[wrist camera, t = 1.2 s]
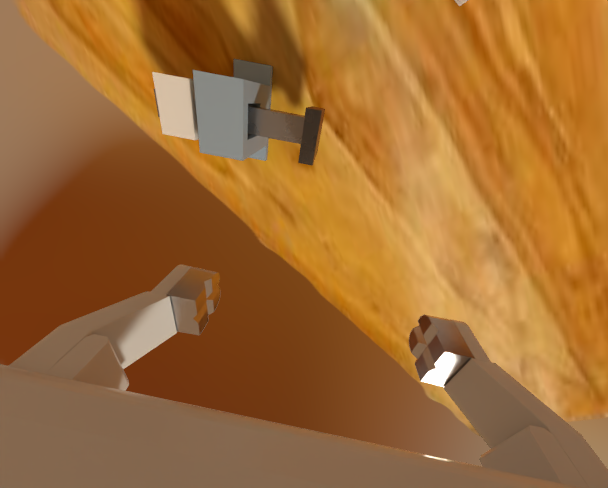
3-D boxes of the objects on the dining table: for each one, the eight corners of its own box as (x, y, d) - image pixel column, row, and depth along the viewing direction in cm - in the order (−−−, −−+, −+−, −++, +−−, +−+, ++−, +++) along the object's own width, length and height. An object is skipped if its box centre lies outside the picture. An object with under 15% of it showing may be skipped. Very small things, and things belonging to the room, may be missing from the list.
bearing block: (236, 59, 30) (189, 39, 20) (273, 66, 30) (243, 49, 20) (236, 153, 37) (201, 171, 27) (266, 159, 37) (242, 179, 27)
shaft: (170, 79, 28) (118, 72, 21) (325, 108, 28) (321, 110, 21) (176, 124, 31) (132, 130, 24) (317, 151, 30) (312, 165, 24)
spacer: (186, 77, 29) (152, 71, 24) (216, 83, 29) (189, 78, 24) (192, 128, 33) (162, 133, 27) (219, 133, 32) (195, 140, 27)
